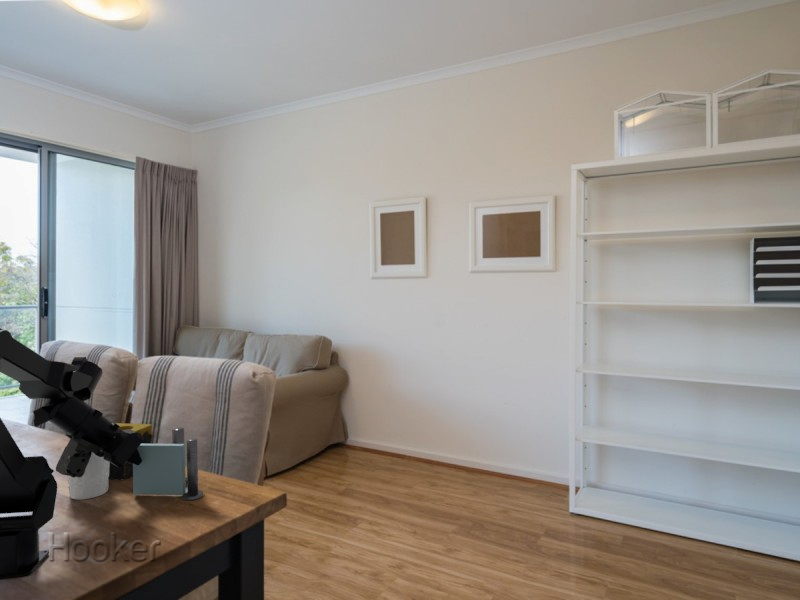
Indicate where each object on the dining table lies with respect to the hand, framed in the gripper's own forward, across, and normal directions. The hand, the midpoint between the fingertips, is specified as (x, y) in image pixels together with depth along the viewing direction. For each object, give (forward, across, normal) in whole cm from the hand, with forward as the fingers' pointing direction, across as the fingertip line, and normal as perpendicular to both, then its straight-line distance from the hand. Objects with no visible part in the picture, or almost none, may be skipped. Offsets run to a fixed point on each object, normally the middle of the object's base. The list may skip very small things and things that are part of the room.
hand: (139, 462), depth 100 cm
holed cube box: (+8, -19, -2) cm, 21 cm away
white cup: (+2, -11, -9) cm, 14 cm away
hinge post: (+10, +8, 0) cm, 13 cm away
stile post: (+12, -2, +2) cm, 12 cm away
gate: (+7, +2, -2) cm, 8 cm away
